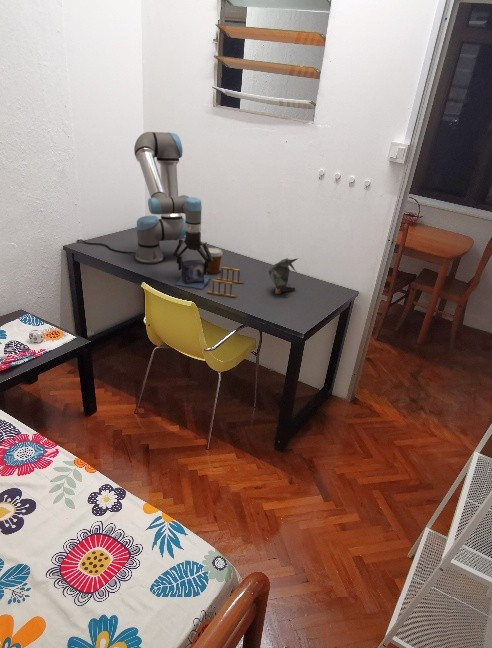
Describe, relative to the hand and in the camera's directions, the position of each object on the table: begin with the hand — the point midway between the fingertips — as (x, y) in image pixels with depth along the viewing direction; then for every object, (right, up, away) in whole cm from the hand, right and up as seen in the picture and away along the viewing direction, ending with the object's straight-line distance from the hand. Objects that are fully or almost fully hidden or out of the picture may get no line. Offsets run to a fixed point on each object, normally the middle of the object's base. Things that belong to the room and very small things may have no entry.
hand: (192, 271), depth 235 cm
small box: (0, -5, +3) cm, 5 cm away
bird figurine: (+46, -10, +4) cm, 47 cm away
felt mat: (0, -5, +3) cm, 6 cm away
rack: (+17, -8, +1) cm, 19 cm away
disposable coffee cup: (+8, +4, +17) cm, 20 cm away
